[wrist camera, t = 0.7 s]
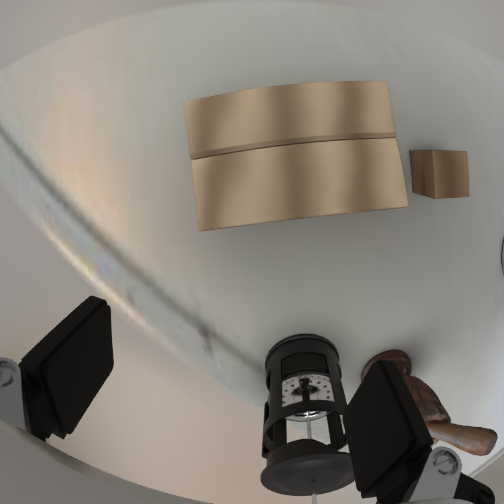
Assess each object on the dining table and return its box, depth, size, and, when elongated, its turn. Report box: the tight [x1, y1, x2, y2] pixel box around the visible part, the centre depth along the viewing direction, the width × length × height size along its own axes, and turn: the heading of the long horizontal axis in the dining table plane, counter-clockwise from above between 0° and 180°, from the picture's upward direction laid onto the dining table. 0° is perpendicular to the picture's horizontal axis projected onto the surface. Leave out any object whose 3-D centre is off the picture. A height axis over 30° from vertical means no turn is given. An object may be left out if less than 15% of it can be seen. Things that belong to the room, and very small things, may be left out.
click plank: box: [191, 138, 408, 231], centre depth 26 cm, size 20×7×2 cm, turn 98°
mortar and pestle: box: [361, 350, 498, 456], centre depth 24 cm, size 12×9×20 cm
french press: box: [261, 334, 355, 504], centre depth 24 cm, size 12×9×23 cm
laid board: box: [183, 81, 396, 159], centre depth 25 cm, size 20×6×2 cm, turn 98°
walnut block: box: [409, 150, 469, 199], centre depth 24 cm, size 4×4×5 cm
